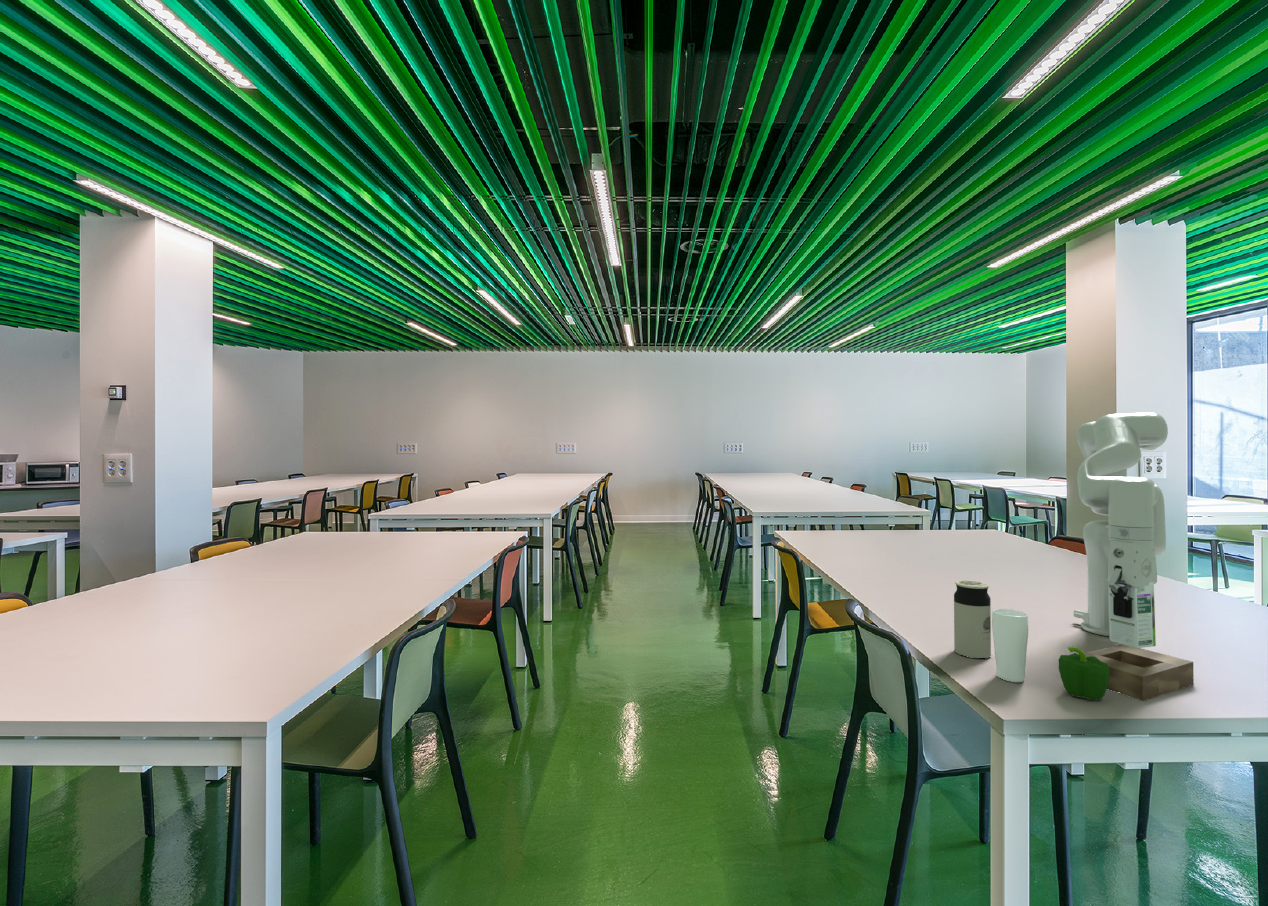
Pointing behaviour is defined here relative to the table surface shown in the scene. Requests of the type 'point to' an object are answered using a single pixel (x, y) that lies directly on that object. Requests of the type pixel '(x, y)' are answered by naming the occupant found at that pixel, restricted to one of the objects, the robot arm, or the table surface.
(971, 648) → the travel mug
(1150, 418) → the robot arm
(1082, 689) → the bell pepper
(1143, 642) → the syrup box
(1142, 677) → the walnut socket block
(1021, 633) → the drinking glass
